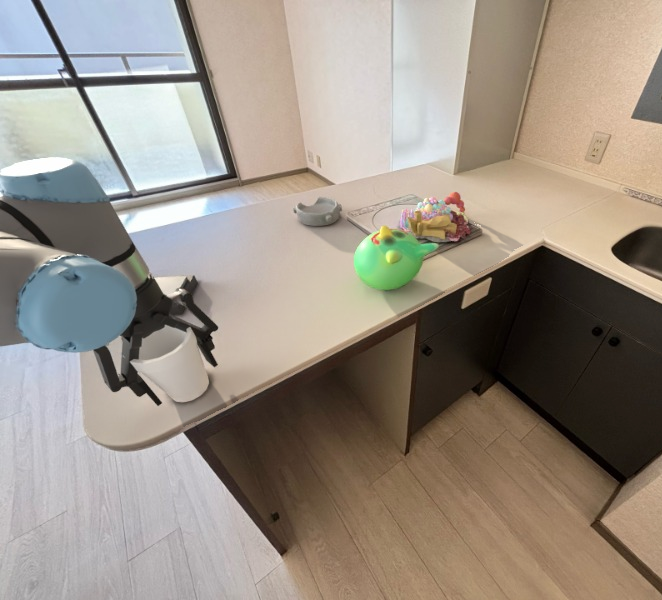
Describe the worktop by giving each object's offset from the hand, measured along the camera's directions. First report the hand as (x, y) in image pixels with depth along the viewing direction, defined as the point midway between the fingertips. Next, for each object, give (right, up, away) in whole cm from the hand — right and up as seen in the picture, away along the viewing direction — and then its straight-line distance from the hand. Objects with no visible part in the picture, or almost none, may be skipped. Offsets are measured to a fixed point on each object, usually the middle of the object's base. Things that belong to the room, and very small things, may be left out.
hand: (185, 380), depth 58 cm
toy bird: (+36, +19, +27) cm, 49 cm away
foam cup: (0, -2, +1) cm, 2 cm away
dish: (+11, +42, +53) cm, 69 cm away
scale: (-19, +15, +19) cm, 31 cm away
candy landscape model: (+50, +40, +51) cm, 82 cm away
